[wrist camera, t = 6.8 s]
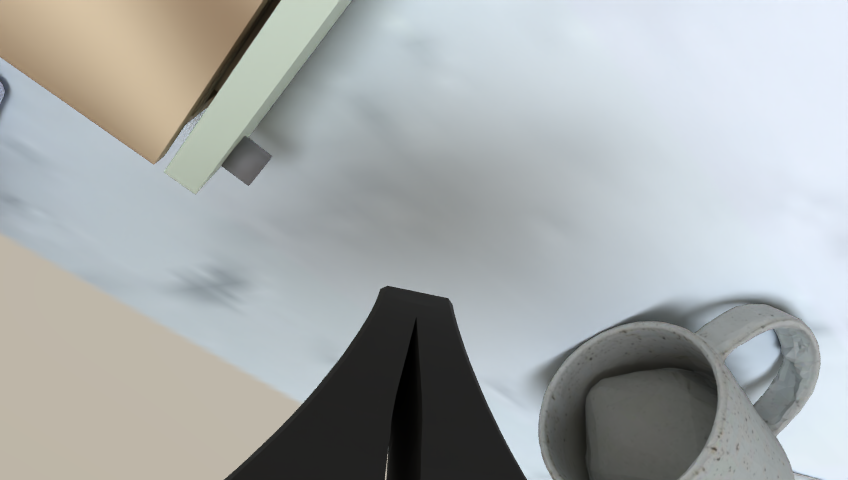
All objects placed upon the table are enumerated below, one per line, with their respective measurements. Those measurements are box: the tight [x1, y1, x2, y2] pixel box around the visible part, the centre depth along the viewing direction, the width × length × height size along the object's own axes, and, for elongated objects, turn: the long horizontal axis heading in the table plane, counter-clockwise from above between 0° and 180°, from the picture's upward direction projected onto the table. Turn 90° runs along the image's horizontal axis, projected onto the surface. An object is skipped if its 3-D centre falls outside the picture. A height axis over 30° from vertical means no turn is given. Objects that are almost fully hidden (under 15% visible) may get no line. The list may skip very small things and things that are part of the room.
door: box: [164, 0, 352, 194], centre depth 15 cm, size 10×2×5 cm, turn 138°
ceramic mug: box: [538, 304, 821, 480], centre depth 21 cm, size 11×8×8 cm
